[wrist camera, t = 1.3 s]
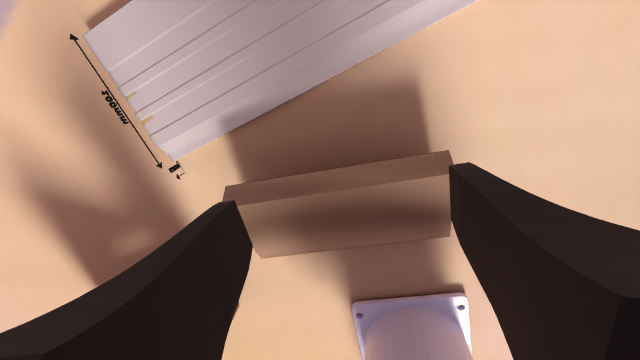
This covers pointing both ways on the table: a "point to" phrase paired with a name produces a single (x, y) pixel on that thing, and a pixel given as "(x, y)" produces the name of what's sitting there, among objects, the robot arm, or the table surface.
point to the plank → (347, 206)
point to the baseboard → (239, 56)
